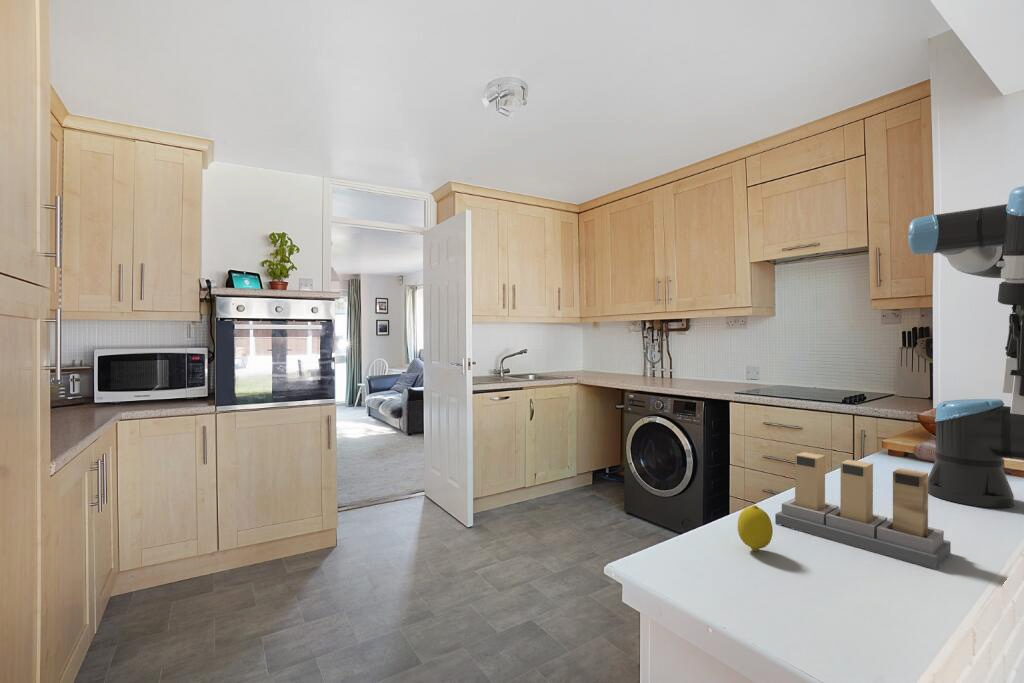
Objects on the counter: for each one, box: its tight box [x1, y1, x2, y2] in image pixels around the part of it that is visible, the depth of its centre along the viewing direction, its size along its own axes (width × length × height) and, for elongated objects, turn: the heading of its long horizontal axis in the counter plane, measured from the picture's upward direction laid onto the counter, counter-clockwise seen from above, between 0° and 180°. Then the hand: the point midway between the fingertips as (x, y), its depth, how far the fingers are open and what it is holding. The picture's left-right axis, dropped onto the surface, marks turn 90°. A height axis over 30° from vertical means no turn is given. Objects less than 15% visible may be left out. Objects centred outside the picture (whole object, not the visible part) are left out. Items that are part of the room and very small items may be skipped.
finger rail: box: [774, 451, 952, 571], centre depth 92 cm, size 10×25×14 cm, turn 38°
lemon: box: [737, 504, 774, 552], centre depth 86 cm, size 6×6×8 cm
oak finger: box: [892, 467, 929, 538], centre depth 86 cm, size 4×4×12 cm
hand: (1017, 403), depth 85 cm, fingers open, 13 cm apart
